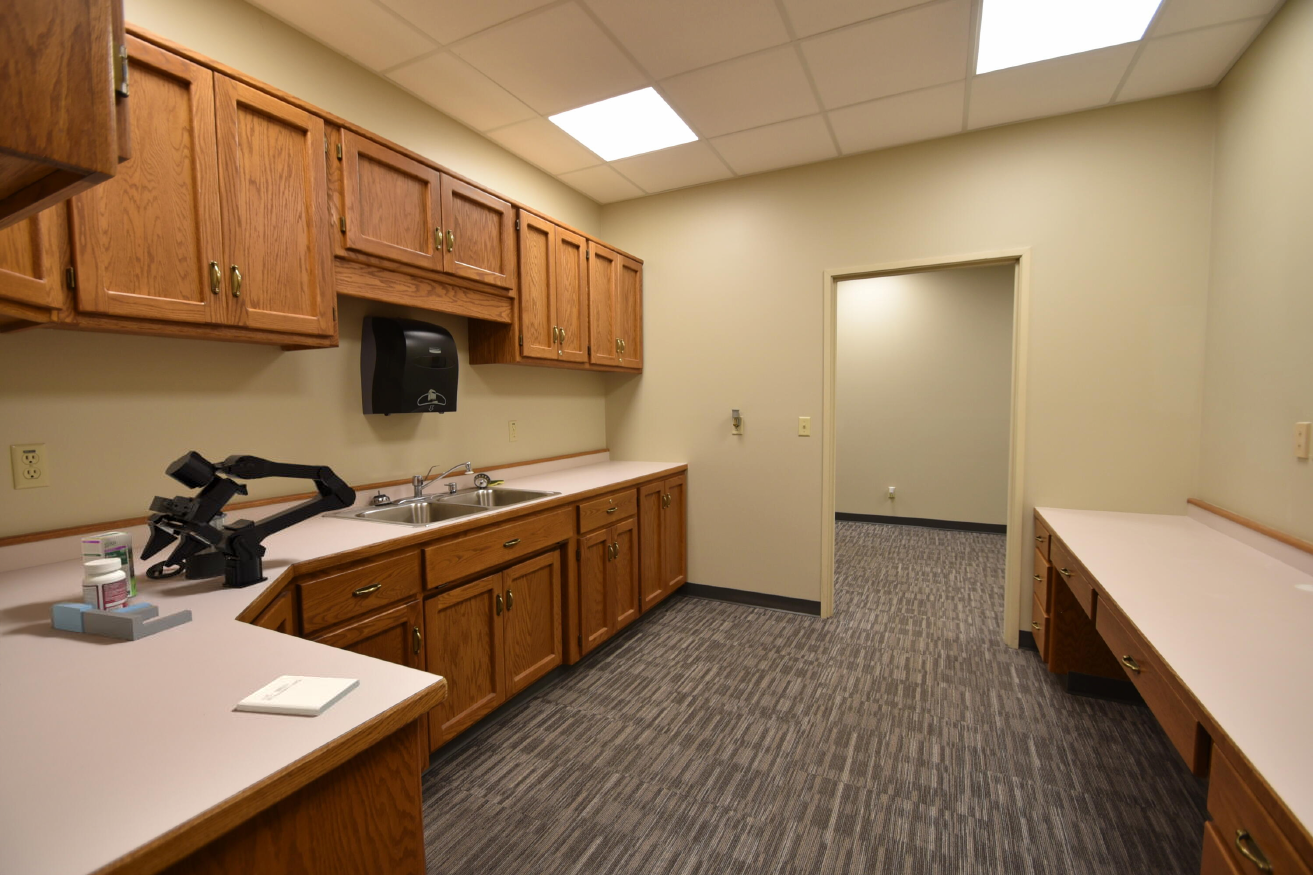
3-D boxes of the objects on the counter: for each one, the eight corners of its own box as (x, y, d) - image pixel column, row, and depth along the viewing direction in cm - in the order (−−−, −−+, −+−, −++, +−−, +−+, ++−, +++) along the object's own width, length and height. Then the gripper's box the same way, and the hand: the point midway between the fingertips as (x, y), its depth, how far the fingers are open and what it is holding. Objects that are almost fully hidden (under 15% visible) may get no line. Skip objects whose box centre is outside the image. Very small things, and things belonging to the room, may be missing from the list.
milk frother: (234, 573, 139) (230, 515, 138) (149, 589, 127) (144, 526, 126) (224, 563, 148) (221, 508, 147) (145, 577, 137) (140, 518, 136)
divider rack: (192, 620, 108) (190, 597, 108) (132, 641, 99) (130, 615, 98) (112, 609, 115) (111, 587, 115) (49, 627, 106) (47, 603, 105)
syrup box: (107, 604, 118) (101, 537, 117) (85, 603, 119) (80, 536, 118) (137, 595, 123) (132, 531, 122) (116, 594, 124) (111, 530, 123)
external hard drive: (318, 720, 73) (236, 713, 75) (360, 688, 82) (285, 683, 83) (317, 708, 73) (236, 702, 75) (359, 677, 81) (284, 673, 83)
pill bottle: (133, 609, 114) (129, 555, 113) (122, 619, 108) (118, 562, 108) (92, 615, 111) (88, 559, 110) (79, 625, 105) (74, 567, 105)
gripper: (154, 476, 122) (92, 537, 114) (202, 485, 115) (140, 551, 106) (198, 503, 130) (144, 563, 122) (246, 513, 123) (192, 577, 114)
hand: (153, 563), depth 116 cm, fingers open, 9 cm apart
